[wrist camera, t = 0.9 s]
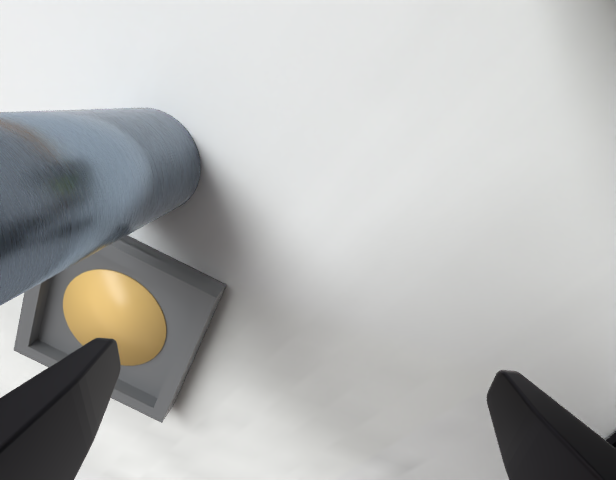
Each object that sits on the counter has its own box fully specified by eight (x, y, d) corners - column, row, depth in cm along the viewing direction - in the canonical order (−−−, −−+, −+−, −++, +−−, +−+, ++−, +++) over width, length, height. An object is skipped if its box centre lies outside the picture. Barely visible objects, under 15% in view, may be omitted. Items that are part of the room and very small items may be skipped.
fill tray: (226, 284, 23) (216, 297, 21) (173, 404, 27) (161, 422, 25) (61, 202, 23) (39, 209, 21) (33, 336, 27) (13, 350, 25)
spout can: (214, 137, 20) (-213, 240, 5) (182, 226, 22) (-187, 476, 7) (118, 88, 20) (-590, 54, 5) (95, 183, 22) (-454, 348, 7)
